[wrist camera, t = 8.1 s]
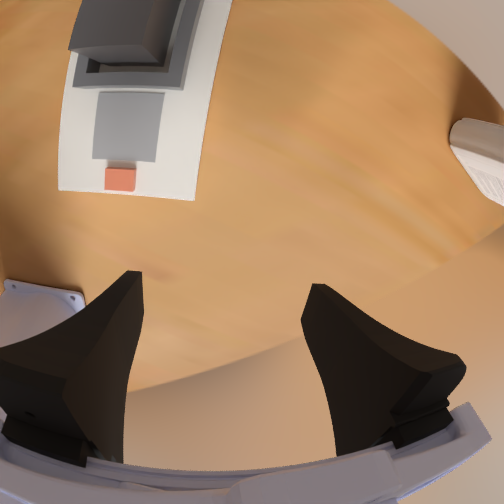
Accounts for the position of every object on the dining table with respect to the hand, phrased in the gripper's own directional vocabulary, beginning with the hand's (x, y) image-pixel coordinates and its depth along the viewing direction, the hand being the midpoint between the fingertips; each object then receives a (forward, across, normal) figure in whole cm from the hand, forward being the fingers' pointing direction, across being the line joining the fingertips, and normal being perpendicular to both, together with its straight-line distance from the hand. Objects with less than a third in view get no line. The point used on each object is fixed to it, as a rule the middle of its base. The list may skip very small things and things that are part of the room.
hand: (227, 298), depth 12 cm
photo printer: (+10, -23, -10) cm, 27 cm away
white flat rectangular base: (+9, +7, -10) cm, 15 cm away
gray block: (+8, +7, -12) cm, 16 cm away
